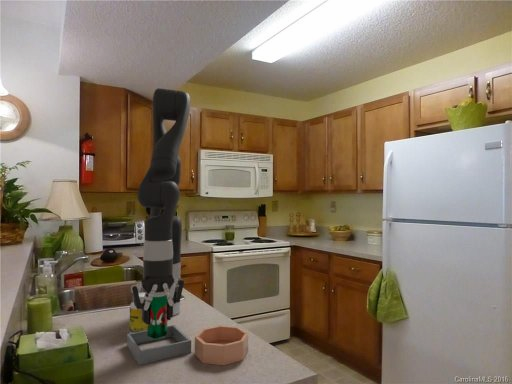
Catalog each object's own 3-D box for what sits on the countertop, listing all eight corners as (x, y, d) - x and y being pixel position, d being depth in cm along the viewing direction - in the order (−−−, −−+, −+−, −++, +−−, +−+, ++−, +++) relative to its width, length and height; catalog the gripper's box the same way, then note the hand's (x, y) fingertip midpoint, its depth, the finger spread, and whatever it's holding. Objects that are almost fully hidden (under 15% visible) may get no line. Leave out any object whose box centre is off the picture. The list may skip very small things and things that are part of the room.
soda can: (169, 332, 94) (169, 287, 94) (164, 340, 89) (165, 293, 89) (150, 332, 94) (150, 287, 94) (144, 340, 89) (145, 293, 89)
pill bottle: (125, 332, 102) (126, 294, 102) (144, 326, 106) (145, 290, 107) (136, 338, 98) (136, 298, 98) (155, 332, 102) (156, 294, 102)
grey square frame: (126, 345, 93) (126, 334, 93) (173, 335, 100) (174, 324, 100) (139, 365, 82) (139, 352, 82) (191, 352, 89) (191, 340, 89)
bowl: (189, 349, 90) (189, 331, 91) (231, 339, 97) (231, 322, 97) (209, 369, 80) (209, 349, 80) (255, 356, 87) (256, 338, 87)
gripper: (179, 252, 98) (178, 312, 98) (126, 256, 91) (125, 322, 91) (189, 256, 92) (188, 320, 92) (133, 261, 84) (132, 331, 84)
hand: (157, 321), depth 91 cm, fingers closed on soda can, 5 cm apart
